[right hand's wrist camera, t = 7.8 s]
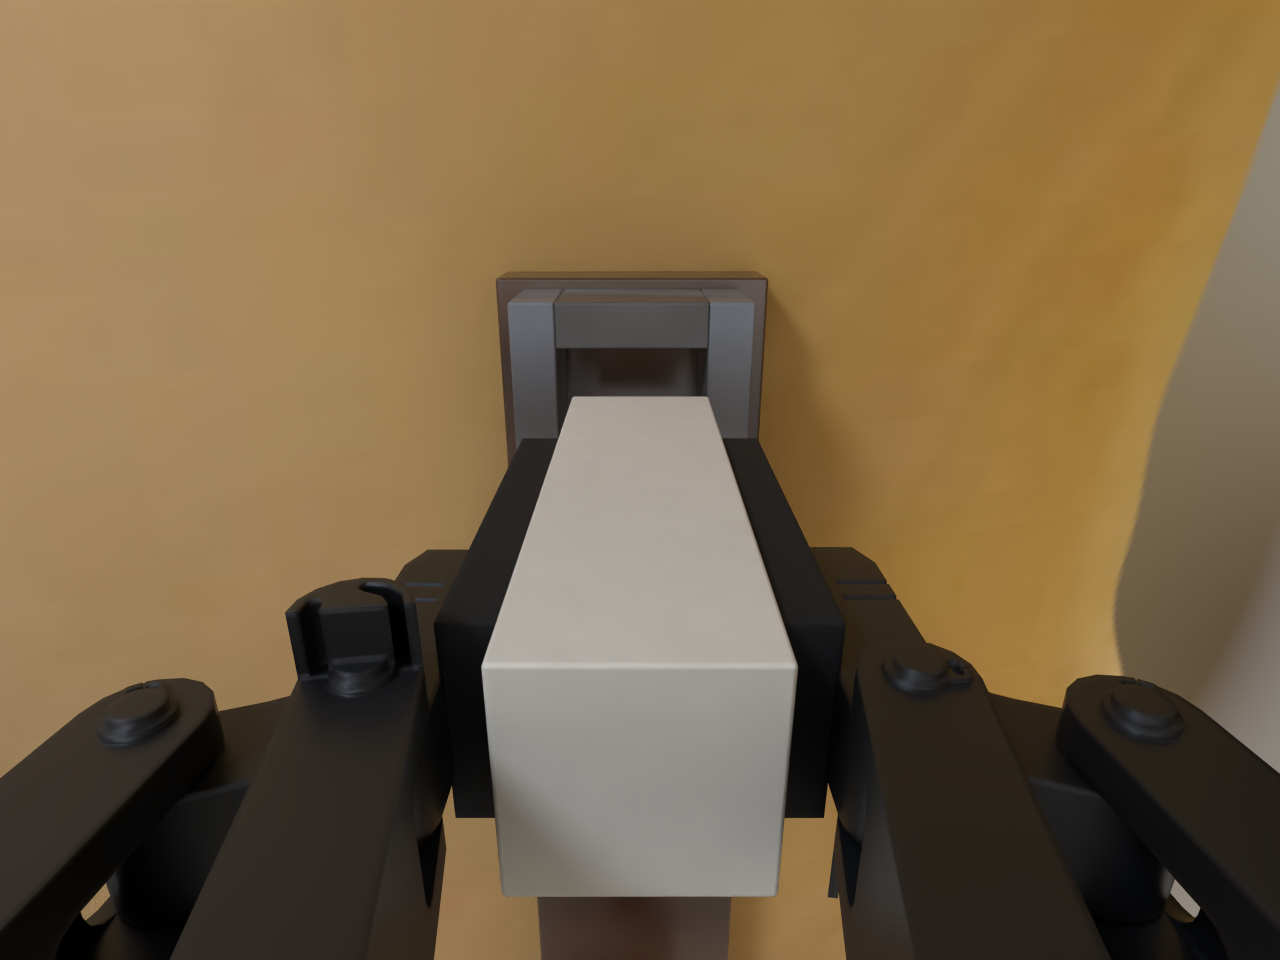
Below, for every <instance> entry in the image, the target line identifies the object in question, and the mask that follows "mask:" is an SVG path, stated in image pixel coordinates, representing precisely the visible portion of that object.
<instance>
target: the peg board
mask: <svg viewBox="0 0 1280 960" xmlns="http://www.w3.org/2000/svg"><path fill="white" fill-rule="evenodd" d="M496 290H497V305H498V320H499V335H500V350H501V365H502V379H503V394H504V409H505V424H506V439H507V454H508V467H509V465H510V463H511V461H512V459H513V457H514V455H515V453H516V451H517V449H518V447H519V445H520V442H521V440H522V438H559V436H560V433H561V430H562V427H563V424H564V421H565V418H566V415H567V412H568V409H569V406H570V403H571V400H572V398H573V397H708V398H709V401H710V404H711V407H712V410H713V413H714V416H715V419H716V422H717V425H718V428H719V431H720V434H721V437H722V438H757V439H758V441H759V425H760V408H761V391H762V375H763V358H764V341H765V325H766V308H767V291H768V279H767V278H766V277H764V276H763V275H761V274H759V273H758V272H507V273H505V274H504V275H502V276H500V277H499V278H497V279H496ZM537 899H538V914H539V929H540V944H541V959H542V960H727V958H728V941H729V925H730V908H731V897H537Z"/></svg>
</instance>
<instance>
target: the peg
mask: <svg viewBox="0 0 1280 960" xmlns="http://www.w3.org/2000/svg"><path fill="white" fill-rule="evenodd" d="M481 669H482V680H483V691H484V702H485V713H486V724H487V735H488V746H489V757H490V768H491V779H492V790H493V801H494V812H495V823H496V834H497V845H498V856H499V867H500V878H501V889H502V894H503V895H504V896H506V897H774V896H776V895H777V892H778V884H779V873H780V862H781V851H782V839H783V828H784V817H785V806H786V795H787V784H788V773H789V762H790V751H791V740H792V729H793V718H794V706H795V695H796V684H797V673H798V665H797V662H796V659H795V656H794V653H793V650H792V647H791V644H790V641H789V638H788V635H787V632H786V629H785V626H784V623H783V620H782V617H781V614H780V611H779V608H778V605H777V602H776V599H775V596H774V593H773V590H772V587H771V584H770V581H769V578H768V575H767V572H766V569H765V566H764V563H763V560H762V557H761V554H760V551H759V548H758V545H757V542H756V539H755V536H754V533H753V530H752V527H751V524H750V521H749V518H748V515H747V512H746V509H745V506H744V503H743V500H742V497H741V494H740V491H739V488H738V485H737V482H736V479H735V476H734V473H733V470H732V467H731V464H730V461H729V458H728V455H727V452H726V449H725V446H724V443H723V440H722V437H721V434H720V431H719V428H718V425H717V422H716V419H715V416H714V413H713V410H712V407H711V404H710V401H709V398H708V397H573V398H572V400H571V403H570V406H569V409H568V412H567V415H566V418H565V421H564V424H563V427H562V430H561V433H560V436H559V439H558V442H557V445H556V447H555V450H554V453H553V456H552V459H551V462H550V465H549V468H548V471H547V474H546V477H545V480H544V483H543V486H542V489H541V492H540V495H539V498H538V501H537V504H536V507H535V509H534V512H533V515H532V518H531V521H530V524H529V527H528V530H527V533H526V536H525V539H524V542H523V545H522V548H521V551H520V554H519V557H518V560H517V563H516V566H515V569H514V571H513V574H512V577H511V580H510V583H509V586H508V589H507V592H506V595H505V598H504V601H503V604H502V607H501V610H500V613H499V616H498V619H497V622H496V625H495V628H494V631H493V634H492V636H491V639H490V642H489V645H488V648H487V651H486V654H485V657H484V660H483V663H482V666H481Z"/></svg>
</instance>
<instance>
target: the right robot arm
mask: <svg viewBox="0 0 1280 960" xmlns="http://www.w3.org/2000/svg"><path fill="white" fill-rule="evenodd" d="M558 439H559V438H522V440H521V442H520V445H519V447H518V449H517V451H516V453H515V455H514V457H513V459H512V461H511V463H510V465H509V467H508V469H507V472H506V474H505V476H504V478H503V480H502V482H501V484H500V486H499V488H498V490H497V492H496V494H495V496H494V499H493V501H492V503H491V505H490V507H489V509H488V511H487V513H486V515H485V517H484V519H483V521H482V523H481V525H480V528H479V530H478V532H477V534H476V536H475V538H474V540H473V542H472V544H471V546H470V548H469V550H427V551H425V552H424V553H422V554H421V555H419V556H418V557H416V558H415V559H413V560H412V561H410V562H409V563H407V564H406V565H405V566H404V567H403V569H402V570H401V572H400V574H399V575H398V577H397V578H396V580H395V581H394V580H390V579H386V578H359V579H353V580H346V581H340V582H336V583H333V584H330V585H327V586H324V587H321V588H318V589H316V590H314V591H312V592H310V593H308V594H307V595H305V596H303V597H301V598H300V599H298V600H296V602H295V603H294V604H293V605H292V606H291V607H290V608H289V609H288V610H287V611H286V612H285V614H286V620H287V625H288V630H289V635H290V640H291V645H292V650H293V655H294V660H295V665H296V670H297V675H298V680H297V683H296V685H295V687H294V689H293V691H292V694H291V695H290V696H288V697H284V698H280V699H276V700H273V701H269V702H264V703H259V704H254V705H249V706H244V707H239V708H234V709H229V710H224V711H219V712H218V708H217V704H216V700H215V696H214V692H213V691H212V690H211V689H210V688H209V687H208V686H206V685H205V684H204V683H203V682H200V681H195V680H190V679H186V678H177V679H161V680H153V681H147V682H146V683H139V684H136V685H132V686H129V687H127V688H125V689H123V690H121V691H119V692H117V693H114V694H112V695H110V696H107V697H105V698H103V699H101V700H100V701H98V702H97V703H95V704H93V705H92V706H90V707H89V708H87V709H86V710H84V711H83V712H81V713H80V714H78V715H77V716H76V717H75V718H73V719H72V720H71V721H70V722H69V723H67V724H66V725H65V726H64V727H62V728H61V729H60V730H59V731H58V732H56V733H55V734H54V735H53V736H51V737H50V738H49V739H48V740H47V741H45V742H44V743H43V744H42V745H40V746H39V747H38V748H37V749H36V750H34V751H33V752H32V753H31V754H29V755H28V756H27V757H26V758H25V759H23V760H22V761H21V762H20V763H19V764H17V765H16V766H15V767H14V768H12V769H11V770H10V771H9V772H8V773H6V774H5V775H4V776H3V777H1V778H0V960H434V953H435V944H436V935H437V926H438V917H439V909H440V900H441V891H442V882H443V873H444V864H445V855H446V843H445V835H444V826H443V818H442V814H443V811H444V808H445V805H446V802H447V799H448V796H449V792H450V789H451V786H452V790H453V798H454V807H455V816H456V818H495V812H494V801H493V790H492V779H491V768H490V757H489V746H488V735H487V724H486V713H485V702H484V691H483V680H482V669H481V666H482V663H483V660H484V657H485V654H486V651H487V648H488V645H489V642H490V639H491V636H492V634H493V631H494V628H495V625H496V622H497V619H498V616H499V613H500V610H501V607H502V604H503V601H504V598H505V595H506V592H507V589H508V586H509V583H510V580H511V577H512V574H513V571H514V569H515V566H516V563H517V560H518V557H519V554H520V551H521V548H522V545H523V542H524V539H525V536H526V533H527V530H528V527H529V524H530V521H531V518H532V515H533V512H534V509H535V507H536V504H537V501H538V498H539V495H540V492H541V489H542V486H543V483H544V480H545V477H546V474H547V471H548V468H549V465H550V462H551V459H552V456H553V453H554V450H555V447H556V445H557V442H558ZM722 440H723V443H724V446H725V449H726V452H727V455H728V458H729V461H730V464H731V467H732V470H733V473H734V476H735V479H736V482H737V485H738V488H739V491H740V494H741V497H742V500H743V503H744V506H745V509H746V512H747V515H748V518H749V521H750V524H751V527H752V530H753V533H754V536H755V539H756V542H757V545H758V548H759V551H760V554H761V557H762V560H763V563H764V566H765V569H766V572H767V575H768V578H769V581H770V584H771V587H772V590H773V593H774V596H775V599H776V602H777V605H778V608H779V611H780V614H781V617H782V620H783V623H784V626H785V629H786V632H787V635H788V638H789V641H790V644H791V647H792V650H793V653H794V656H795V659H796V662H797V665H798V673H797V684H796V695H795V706H794V718H793V729H792V740H791V751H790V762H789V773H788V784H787V795H786V806H785V817H784V818H824V812H825V803H826V794H827V786H828V784H829V787H830V790H831V793H832V796H833V800H834V803H835V806H836V809H837V812H838V818H837V826H836V835H835V843H834V851H833V859H832V867H831V875H830V883H829V891H828V897H831V898H838V893H839V898H840V907H841V916H842V925H843V934H844V942H845V951H846V960H1280V774H1279V773H1278V772H1277V771H1276V770H1274V769H1273V768H1272V767H1271V766H1269V765H1268V764H1267V763H1266V762H1265V761H1263V760H1262V759H1261V758H1260V757H1258V756H1257V755H1256V754H1255V753H1254V752H1252V751H1251V750H1250V749H1249V748H1247V747H1246V746H1245V745H1244V744H1242V743H1241V742H1240V741H1239V740H1237V739H1236V738H1235V737H1234V736H1233V735H1231V734H1230V733H1229V732H1228V731H1226V730H1225V729H1224V728H1223V727H1222V726H1220V725H1219V724H1218V723H1217V722H1215V721H1214V720H1213V719H1212V718H1210V717H1209V716H1208V715H1207V714H1206V713H1204V712H1203V711H1202V710H1200V709H1199V708H1197V707H1196V706H1194V705H1193V704H1191V703H1189V702H1188V701H1186V700H1185V699H1183V698H1182V697H1180V696H1179V695H1177V694H1174V693H1172V692H1170V691H1167V690H1165V689H1163V688H1160V687H1158V686H1156V685H1155V684H1153V683H1150V682H1147V681H1143V680H1140V679H1138V680H1135V679H1134V678H1131V677H1125V676H1111V675H1093V676H1088V677H1083V678H1079V679H1077V680H1076V681H1074V682H1073V683H1072V684H1071V685H1070V686H1069V687H1068V688H1067V690H1066V694H1065V698H1064V702H1063V706H1062V708H1058V707H1053V706H1048V705H1043V704H1037V703H1032V702H1027V701H1022V700H1017V699H1012V698H1008V697H1004V696H1001V695H997V694H993V693H990V692H988V690H987V688H986V686H985V684H984V681H983V679H982V678H981V676H980V675H979V674H978V672H977V671H976V670H975V669H974V667H973V666H972V665H971V664H970V663H969V662H967V661H966V660H964V659H963V658H961V657H960V656H958V655H957V654H955V653H954V652H951V651H949V650H946V649H944V648H941V647H938V646H936V645H933V644H931V643H926V642H925V640H924V639H923V637H922V635H921V634H920V632H919V631H918V629H917V628H916V626H915V624H914V623H913V621H912V620H911V618H910V617H909V615H908V613H907V612H906V610H905V609H904V607H903V606H902V604H901V603H900V601H899V600H896V595H895V593H894V592H893V590H892V588H891V587H890V585H889V584H887V581H886V579H885V578H884V576H883V574H882V573H881V571H880V570H879V568H878V567H877V565H876V563H875V562H873V561H872V560H870V559H869V558H867V557H866V556H864V555H863V554H861V553H860V552H858V551H857V550H855V549H854V548H852V547H809V545H808V543H807V541H806V539H805V537H804V535H803V533H802V531H801V529H800V527H799V524H798V522H797V520H796V518H795V516H794V514H793V512H792V510H791V508H790V506H789V504H788V502H787V500H786V497H785V495H784V493H783V491H782V489H781V487H780V485H779V483H778V481H777V479H776V477H775V475H774V473H773V470H772V468H771V466H770V464H769V462H768V460H767V458H766V456H765V454H764V452H763V450H762V448H761V446H760V443H759V441H758V439H757V438H722ZM1175 879H1176V881H1177V882H1178V883H1179V884H1180V885H1181V886H1182V887H1183V888H1184V890H1185V891H1186V892H1187V893H1188V894H1189V895H1190V896H1191V897H1192V899H1193V900H1194V901H1195V902H1196V903H1197V904H1198V905H1199V906H1200V911H1199V913H1198V915H1197V917H1196V918H1195V917H1193V916H1192V915H1191V914H1189V913H1188V912H1187V911H1186V910H1185V909H1184V908H1183V907H1182V906H1181V905H1180V904H1179V903H1178V902H1177V900H1176V899H1175V898H1174V897H1173V896H1172V895H1171V893H1170V891H1171V888H1172V886H1173V883H1174V880H1175ZM105 883H106V885H107V887H108V890H109V893H110V897H109V898H108V899H107V901H106V902H105V903H104V904H103V905H102V906H101V908H100V909H99V910H98V911H97V912H95V913H94V914H93V915H92V916H91V917H89V918H88V919H87V920H86V921H85V920H84V919H83V918H82V915H81V912H80V911H81V910H82V909H83V908H84V907H85V906H86V905H87V904H88V902H89V901H90V900H91V899H92V898H93V897H94V896H95V894H96V893H97V892H98V891H99V890H100V889H101V888H102V887H103V885H104V884H105Z"/></svg>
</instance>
